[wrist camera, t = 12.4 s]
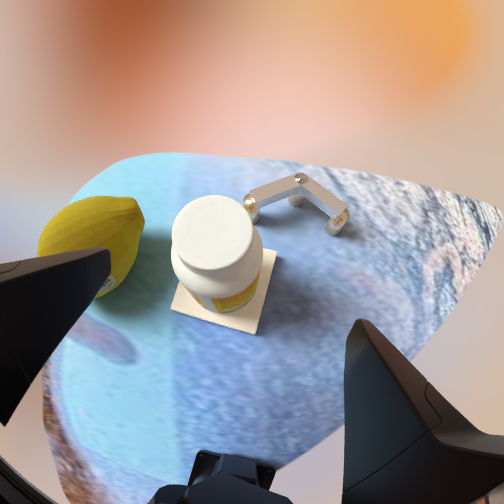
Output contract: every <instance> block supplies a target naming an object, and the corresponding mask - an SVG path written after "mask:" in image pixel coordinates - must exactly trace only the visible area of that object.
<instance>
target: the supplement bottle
mask: <svg viewBox="0 0 504 504" xmlns="http://www.w3.org/2000/svg"><path fill="white" fill-rule="evenodd" d="M172 242H173V243H172V248H171V261H172V266H173V269H174V271H175V274H176V276H177V277H178V279H179V280H180V282H181V283H182V284H183V286H184V287H185V288H186V289H187V291H188V292H189V293H190V294H191V295H192V297H193V298H194V299H195V300H196V301H197V302H198V303H199V304H200V305H201V306H202V307H203V308H205V309H206V310H208V311H211V312H214V313H219V314H228V313H232V312H235V311H238V310H240V309H241V308H243V307H244V306H246V305H247V304H248V303H249V302H250V301H251V299H252V298H253V296H254V295H255V292H256V289H257V285H258V281H259V276H260V271H261V266H262V261H263V245H262V241H261V238H260V235H259V233H258V231H257V230H256V228H255V227H254V226H253V223H252V220H251V217H250V215H249V213H248V212H247V210H246V209H245V208H244V207H243V206H242V205H241V204H240V203H238V202H237V201H235V200H233V199H231V198H228V197H225V196H219V195H209V196H204V197H201V198H198V199H195V200H193V201H192V202H190V203H189V204H187V205H186V206H185V207H184V208H183V209H182V210H181V211H180V213H179V214H178V215H177V217H176V219H175V221H174V224H173V228H172Z"/></svg>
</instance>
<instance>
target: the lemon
mask: <svg viewBox="0 0 504 504" xmlns="http://www.w3.org/2000/svg"><path fill="white" fill-rule="evenodd" d="M144 223H145V221H144V217H143V214H142V212H141V209H140V207H139V205H138V203H137V201H136V200H135V199H134V198H130V197H112V196H95V197H89V198H86V199H82V200H80V201H77V202H74V203H72V204H70V205H68V206H67V207H65V208H64V209H62V210H61V211H60V212H59V213H57V214H56V215H55V216H54V217H53V218H52V219H51V220H50V221H49V222H48V224H47V225H46V226H45V228H44V230H43V232H42V234H41V236H40V239H39V244H38V251H37V255H38V257H42V256H48V255H53V254H59V253H65V252H70V251H76V250H82V249H88V248H95V247H104V248H107V249H109V250H110V252H111V273H110V276H109V277H108V279H107V280H106V281H105V283H104V284H103V286H102V287H101V289H100V290H99V292H98V293H97V295H96V296H95V298H94V299H96V298H99V297H101V296H103V295H105V294H106V293H108V292H110V291H111V290H113V289H114V288H115V287H117V286H118V285H119V284H120V283H121V282H122V281H123V280H124V279H125V277H126V276H127V274H128V273H129V271H130V269H131V268H132V266H133V264H134V262H135V259H136V257H137V253H138V249H139V242H140V236H141V233H142V230H143V227H144Z"/></svg>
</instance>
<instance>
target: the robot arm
mask: <svg viewBox="0 0 504 504" xmlns="http://www.w3.org/2000/svg"><path fill="white" fill-rule="evenodd" d="M110 273H111V252H110V250H109V249H107V248H104V247H95V248H88V249H82V250H76V251H70V252H65V253H59V254H53V255H48V256H42V257H37V258H31V259H26V260H22V261H21V260H20V261H15V262H9V263H4V264H0V423H1V424H2V425H3V426H4V427H5V426H6V425H7V423H8V421H9V420H10V418H11V416H12V414H13V413H14V411H15V409H16V408H17V406H18V404H19V403H20V401H21V400H22V398H23V396H24V395H25V393H26V392H27V390H28V388H29V387H30V385H31V383H32V382H33V381H34V379H35V377H36V376H37V375H38V373H39V372H40V370H41V369H42V367H43V366H44V364H45V363H46V361H47V360H48V359H49V357H50V356H51V354H52V353H53V352H54V350H55V349H56V348H57V346H58V345H59V343H60V342H61V341H62V339H63V338H64V337H65V335H66V334H67V333H68V331H69V330H70V329H71V328H72V326H73V325H74V324H75V322H76V321H77V320H78V319H79V317H80V316H81V315H82V314H83V312H84V311H85V310H86V309H87V307H88V306H89V305H90V303H91V302H92V301H93V299H94V298H95V296H96V295H97V293H98V292H99V290H100V289H101V287H102V286H103V284H104V283H105V281H106V280H107V279H108V277H109V276H110ZM344 411H345V446H344V477H343V494H342V503H341V504H504V436H502V435H490V434H486V433H484V432H482V431H480V430H478V429H477V428H476V427H475V426H474V425H473V424H472V423H470V422H469V421H468V420H467V419H466V418H465V417H464V416H463V415H462V414H461V413H460V412H459V411H458V410H457V409H455V408H454V407H453V406H452V405H451V404H450V403H449V402H448V401H447V400H446V399H445V398H444V397H443V396H442V395H441V394H440V393H439V392H438V391H437V390H436V389H435V388H434V387H433V386H432V385H431V384H430V382H427V379H426V378H425V377H424V376H423V375H422V374H421V373H420V372H419V371H418V370H417V369H416V368H415V367H414V366H413V365H412V364H411V363H410V362H409V361H408V360H407V359H406V358H405V356H404V355H403V354H402V353H401V352H400V351H399V350H398V349H397V348H396V347H395V346H394V345H393V344H392V343H391V342H390V341H389V340H388V339H387V338H386V337H385V336H384V335H383V334H382V333H381V332H380V331H379V330H378V329H377V328H376V327H375V326H374V325H373V324H372V323H371V322H370V321H368V320H365V319H360V318H359V319H357V320H356V321H355V323H354V325H353V327H352V329H351V331H350V333H349V335H348V337H347V340H346V352H345V368H344ZM200 454H204V455H205V456H206V457H205V458H203V457H201V456H200ZM267 470H272V472H271V473H267ZM275 473H276V471H275V468H274V467H273V466H269V465H263V464H258V463H255V461H254V460H250V459H246V458H241V457H237V456H233V455H229V454H222V455H219V454H216V453H212V452H209V451H205V450H200V451H198V453H197V455H196V458H195V462H194V465H193V469H192V472H191V475H190V479H189V482H188V485H187V486H185V485H166V486H164V487H161V488H159V489H158V491H157V492H156V493H155V495H154V496H153V497H152V499H151V500H150V501H149V502H148V504H293V503H292V502H291V501H290V500H289V499H288V498H287V497H285V496H282V495H279V494H276V493H273V492H271V491H269V489H270V486H271V484H272V481H273V479H274V476H275ZM0 504H58V503H56V502H55V501H54V500H52V499H51V498H49V497H48V496H47V495H45V494H44V493H43V492H41V491H40V490H39V489H38V488H36V487H35V486H34V485H32V484H31V483H30V482H29V481H28V480H27V479H25V478H24V477H23V476H22V475H21V474H20V473H18V472H17V471H16V470H15V469H14V468H13V467H12V466H11V465H10V464H8V463H7V462H6V461H5V459H3V458H2V457H1V456H0Z"/></svg>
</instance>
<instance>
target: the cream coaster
mask: <svg viewBox="0 0 504 504" xmlns="http://www.w3.org/2000/svg"><path fill="white" fill-rule="evenodd" d="M276 254H277V251H273V250H269V249H265V248H263V261H262V266H261V271H260V276H259V281H258V285H257V289H256V292H255V295H254V296H253V298H252V299H251V301H250V302H249V303H248V304H247V305H246V306H244V307H243V308H241V309H240V310H238V311H235V312H232V313H228V314H219V313H214V312H211V311H208V310H206V309H205V308H203V307H202V306H201V305H200V304H199V303H198V302H197V301H196V300H195V299H194V298H193V297H192V295H191V294H190V293H189V292H188V291H187V289H186V288H185V287H184V286H183V284H182V283H181V282H180V281H179V283H178V286H177V289H176V292H175V295H174V298H173V301H172V304H171V307H170V309H171V310H173V311H176V312H179V313H182V314H185V315H188V316H191V317H194V318H198V319H201V320H204V321H207V322H211V323H214V324H217V325H221V326H224V327H228V328H231V329H235V330H238V331H242V332H246V333H249V334H253V335H255V333H256V329H257V326H258V322H259V318H260V315H261V311H262V307H263V304H264V300H265V296H266V292H267V288H268V285H269V281H270V277H271V273H272V269H273V265H274V262H275V258H276Z"/></svg>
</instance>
